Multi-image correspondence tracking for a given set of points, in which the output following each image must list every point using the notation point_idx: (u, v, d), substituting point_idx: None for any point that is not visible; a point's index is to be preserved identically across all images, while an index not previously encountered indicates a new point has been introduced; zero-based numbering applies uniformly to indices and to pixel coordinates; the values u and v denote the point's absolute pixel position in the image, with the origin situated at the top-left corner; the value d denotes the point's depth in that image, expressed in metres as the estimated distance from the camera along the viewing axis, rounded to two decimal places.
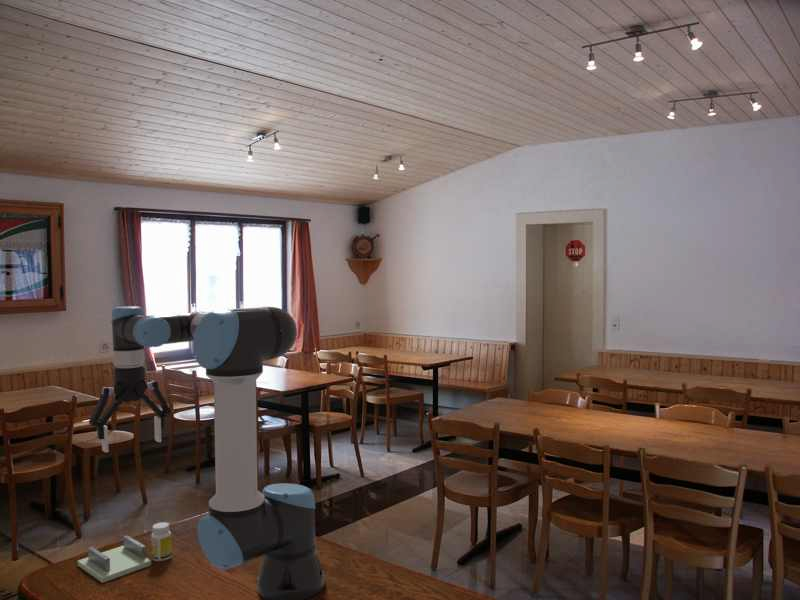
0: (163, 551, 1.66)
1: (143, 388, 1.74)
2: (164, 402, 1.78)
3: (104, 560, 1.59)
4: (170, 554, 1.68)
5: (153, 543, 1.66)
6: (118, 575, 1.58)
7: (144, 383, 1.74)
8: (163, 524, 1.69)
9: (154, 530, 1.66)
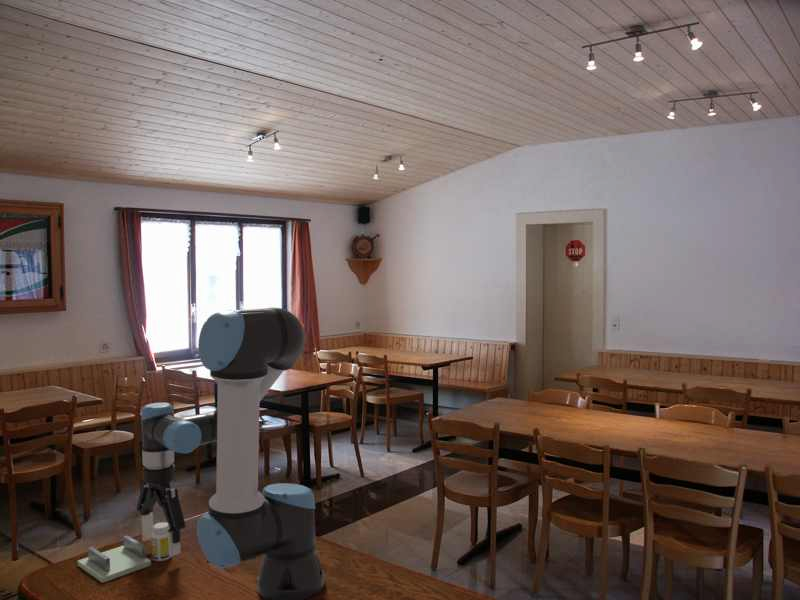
0: (163, 551, 1.66)
1: (161, 493, 1.65)
2: (172, 516, 1.61)
3: (104, 560, 1.59)
4: None
5: (153, 543, 1.66)
6: (118, 575, 1.58)
7: (161, 488, 1.64)
8: (163, 524, 1.69)
9: (154, 530, 1.66)
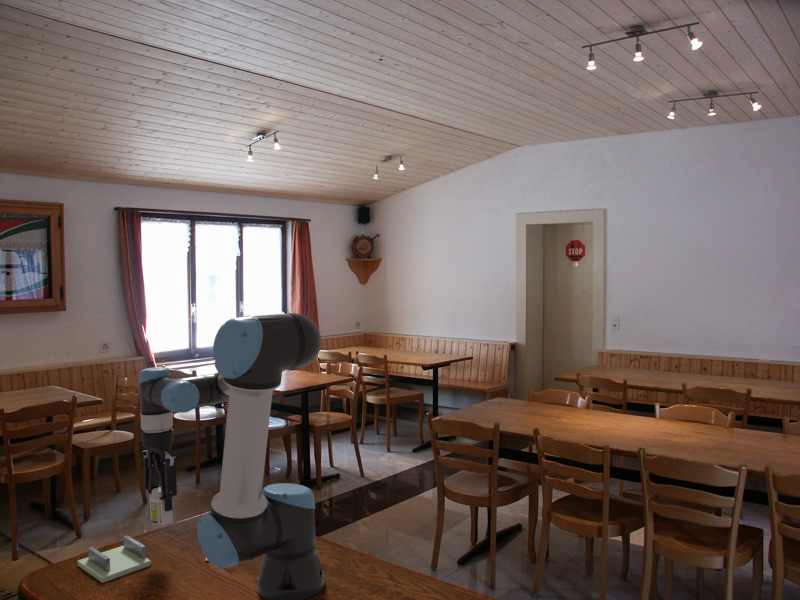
0: None
1: (160, 456, 1.64)
2: (166, 484, 1.62)
3: (104, 560, 1.59)
4: None
5: (152, 507, 1.65)
6: (118, 575, 1.58)
7: (161, 452, 1.64)
8: None
9: (153, 494, 1.66)
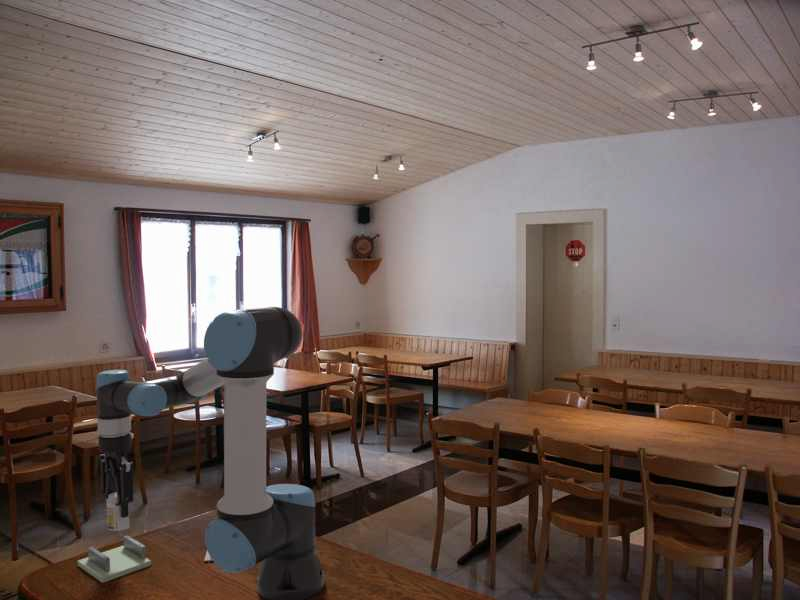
0: None
1: (116, 461, 1.60)
2: (122, 490, 1.59)
3: (104, 560, 1.59)
4: None
5: (109, 512, 1.62)
6: (118, 575, 1.58)
7: (118, 458, 1.60)
8: None
9: (110, 499, 1.62)
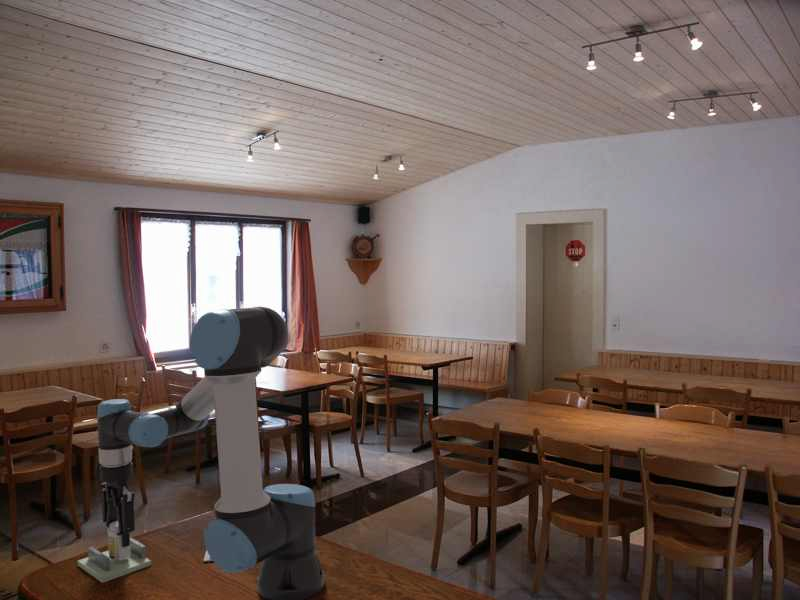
0: None
1: (117, 491, 1.61)
2: (123, 520, 1.59)
3: (104, 560, 1.59)
4: None
5: (110, 542, 1.62)
6: (118, 575, 1.58)
7: (119, 487, 1.60)
8: None
9: (111, 528, 1.62)
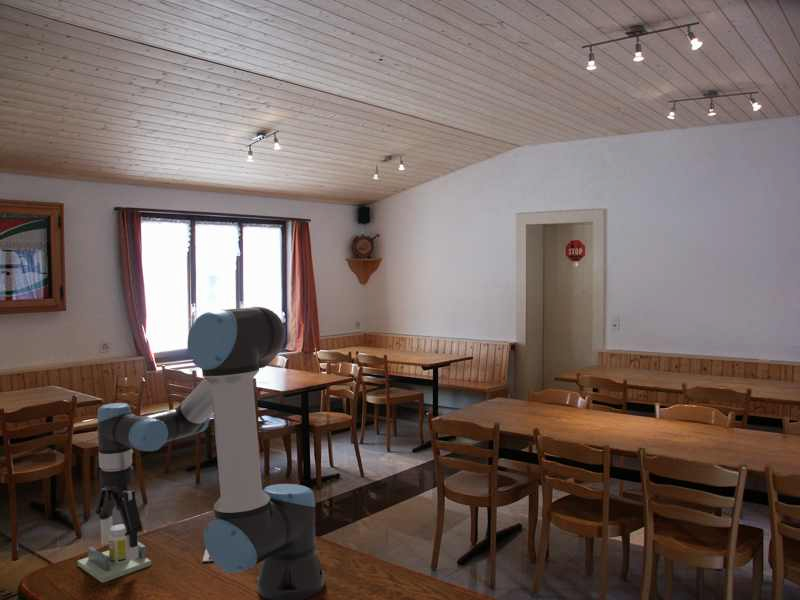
0: (121, 553, 1.62)
1: (118, 495, 1.61)
2: (128, 519, 1.57)
3: (104, 560, 1.59)
4: None
5: (110, 545, 1.62)
6: (118, 575, 1.58)
7: (118, 490, 1.60)
8: (121, 526, 1.65)
9: (111, 532, 1.62)
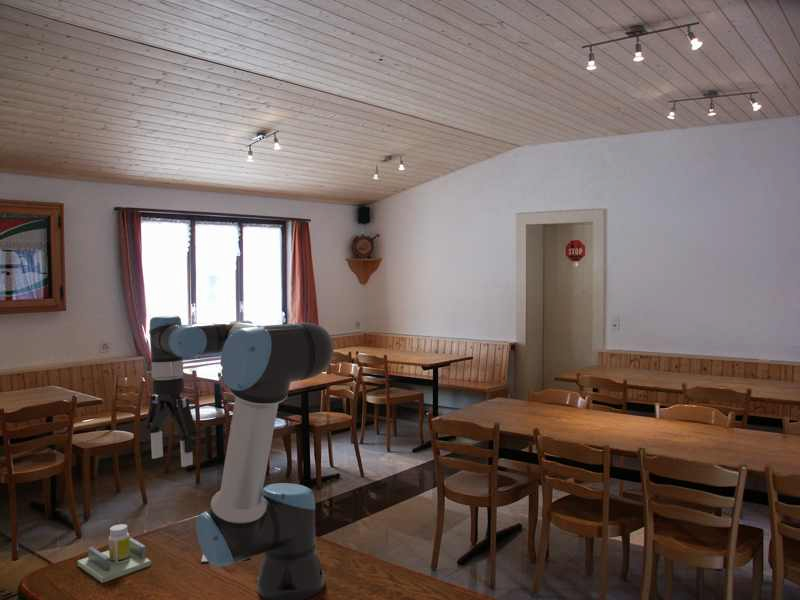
0: (121, 553, 1.62)
1: (171, 404, 1.64)
2: (184, 424, 1.60)
3: (104, 560, 1.59)
4: (128, 557, 1.64)
5: (110, 545, 1.62)
6: (118, 575, 1.58)
7: (172, 399, 1.64)
8: (121, 526, 1.65)
9: (111, 532, 1.62)
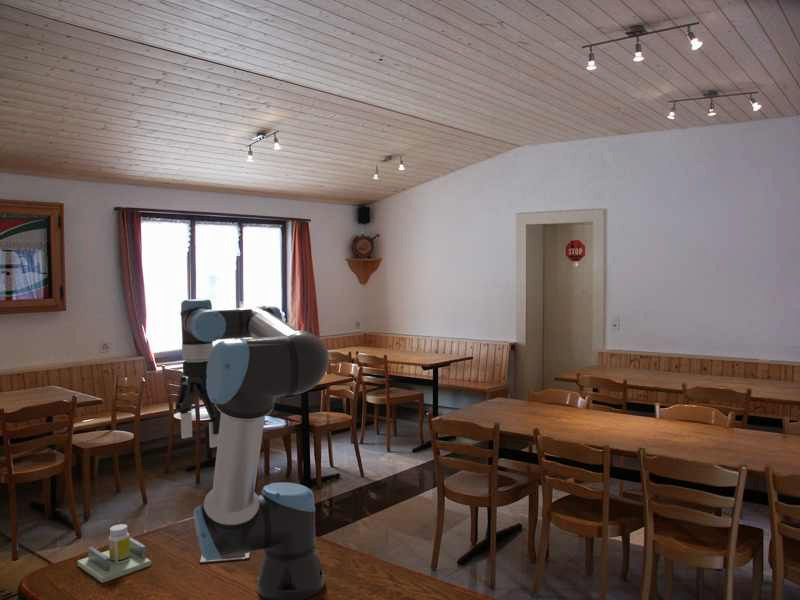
0: (121, 553, 1.62)
1: (201, 386, 1.66)
2: (213, 406, 1.63)
3: (104, 560, 1.59)
4: (128, 557, 1.64)
5: (110, 545, 1.62)
6: (118, 575, 1.58)
7: (202, 381, 1.66)
8: (121, 526, 1.65)
9: (111, 532, 1.62)
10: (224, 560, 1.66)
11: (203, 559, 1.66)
